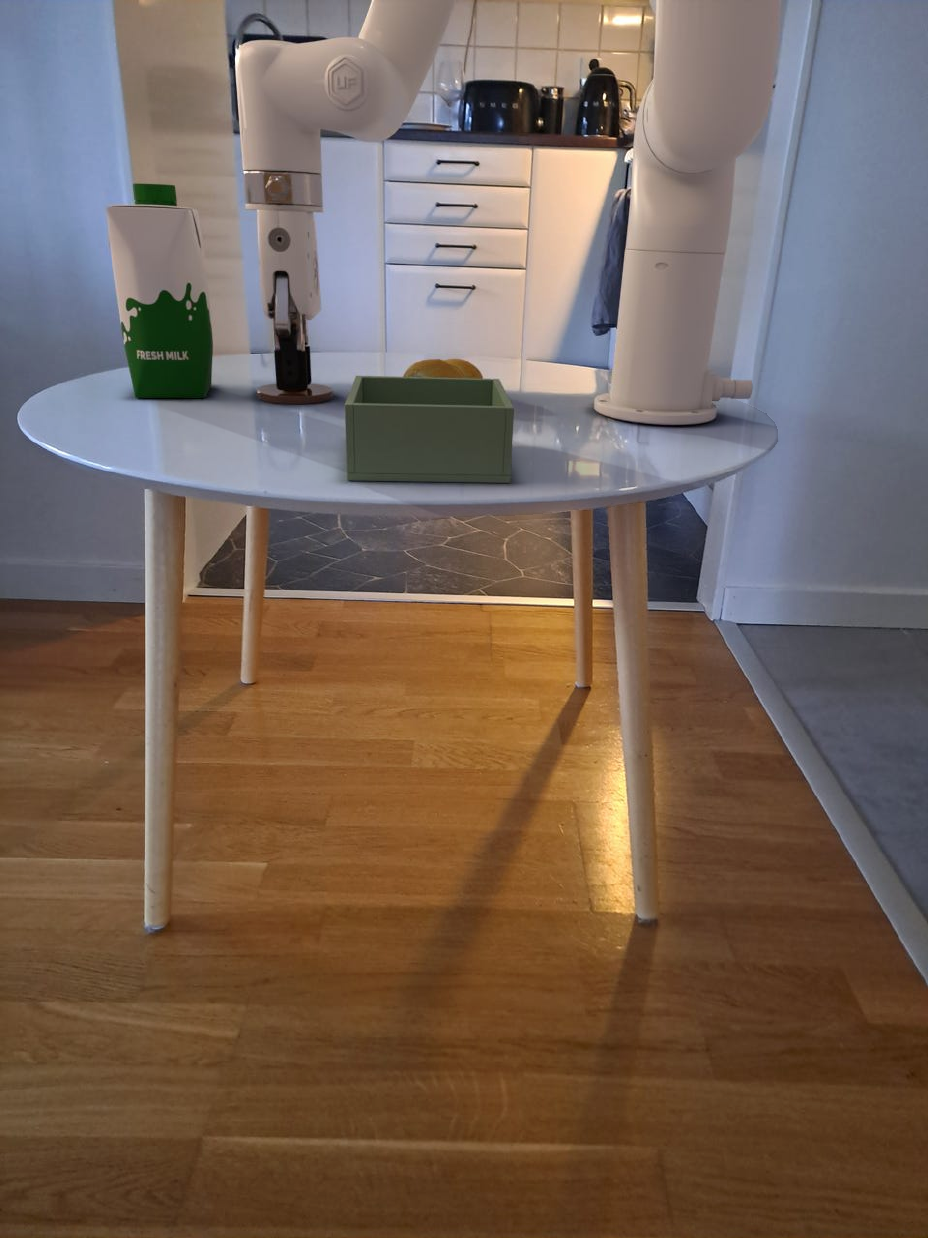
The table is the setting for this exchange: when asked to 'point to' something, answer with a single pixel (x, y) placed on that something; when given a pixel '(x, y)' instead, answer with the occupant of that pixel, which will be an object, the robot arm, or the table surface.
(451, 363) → the bread roll
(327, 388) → the wooden peg stand
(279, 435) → the table surface
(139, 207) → the milk carton
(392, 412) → the tub
